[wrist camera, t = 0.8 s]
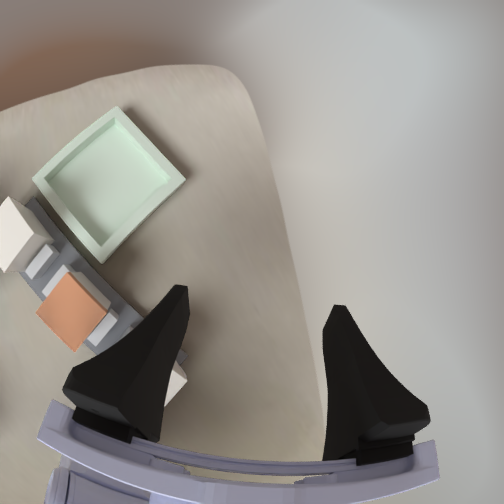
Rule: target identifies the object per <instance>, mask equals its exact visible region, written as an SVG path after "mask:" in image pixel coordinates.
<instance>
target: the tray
mask: <svg viewBox="0 0 504 504" xmlns="http://www.w3.org/2000/svg"><path fill="white" fill-rule="evenodd" d="M32 180H33V181H34V183H35V184H36V185H37V187H38V188H39V190H40V191H41V192H42V194H43V195H44V196H45V198H46V199H47V200H48V202H49V203H50V204H51V206H52V207H53V208H54V209H55V211H56V212H57V213H58V214H59V216H60V217H61V218H62V219H63V221H64V222H65V223H66V224H67V226H68V227H69V228H70V229H71V230H72V232H73V233H74V234H75V235H76V236H77V237H78V239H79V240H80V241H81V242H82V243H83V244H84V245H85V247H86V248H87V249H88V250H89V251H90V252H91V253H92V254H93V255H94V257H95V258H96V259H97V260H98V261H99V262H100V263H101V264H104V262H105V261H106V260H107V259H108V258H109V257H110V256H111V255H112V254H113V253H114V252H115V250H116V249H117V248H118V247H119V246H120V245H121V244H122V243H123V242H124V241H125V240H126V239H127V238H128V237H129V236H130V235H131V234H132V233H133V232H134V231H135V230H136V229H137V228H138V227H139V226H140V225H141V224H142V223H143V222H144V221H145V220H146V219H147V218H148V217H149V216H150V215H151V214H152V213H153V212H154V211H155V210H156V209H157V208H158V207H159V206H160V205H161V204H162V203H163V202H164V201H165V200H167V199H168V198H169V197H170V196H171V195H172V194H173V193H174V192H175V191H176V190H177V189H179V188H180V187H181V186H182V185H183V183H184V182H185V180H186V179H185V178H184V177H183V176H182V174H181V173H180V172H179V171H178V170H177V169H176V168H175V167H174V166H173V165H172V164H171V163H170V162H169V161H168V159H167V158H166V157H165V156H164V155H163V154H162V153H161V152H160V151H159V150H158V149H157V148H156V147H155V146H154V145H153V143H152V142H151V141H150V140H149V139H148V138H147V137H146V136H145V135H144V134H143V133H142V132H141V131H140V130H139V129H138V127H137V126H136V125H135V124H134V123H133V122H132V121H131V120H130V119H129V118H128V117H127V116H126V115H125V114H124V113H123V111H122V110H121V109H120V108H119V107H118V106H116V107H114V108H113V109H111V110H110V111H109V112H107V113H106V114H104V115H103V116H102V117H100V118H99V119H98V120H96V121H95V122H94V123H93V124H91V125H90V126H89V127H87V128H86V129H85V130H84V131H82V132H81V133H80V134H79V135H78V136H76V137H75V138H74V139H73V140H72V141H71V142H69V143H68V144H67V145H66V146H65V147H64V148H63V149H61V150H60V151H59V152H58V153H57V154H56V155H55V156H54V157H53V158H52V159H51V160H50V161H49V162H48V163H47V164H46V165H45V166H44V167H43V168H42V169H41V170H40V171H39V172H38V173H37V174H36V175H35V176H34V177H33V178H32Z"/></svg>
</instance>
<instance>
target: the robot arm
mask: <svg viewBox="0 0 504 504" xmlns="http://www.w3.org/2000/svg"><path fill="white" fill-rule="evenodd" d="M189 316H190V309H189V298H188V286H183V285H177V284H176V285H174V286H173V287H172V289H171V290H170V291H169V292H168V293H167V295H166V296H165V297H164V298H163V299H162V300H161V301H160V303H159V304H158V305H157V306H156V307H155V308H154V309H153V310H152V311H151V312H150V313H149V314H148V315H147V316H146V317H145V318H144V319H143V320H142V321H141V322H140V323H139V324H138V325H137V326H136V327H135V328H134V329H133V330H132V331H130V332H129V333H128V334H127V335H126V336H124V337H123V338H122V339H120V340H119V341H118V342H116V343H115V344H114V345H112V346H111V347H109V348H108V349H106V350H105V351H103V352H101V353H100V354H98V355H97V356H95V357H93V358H91V359H90V360H88V361H86V362H84V363H82V364H80V365H77V366H75V367H73V368H72V370H71V372H70V373H69V375H68V377H67V380H66V382H65V384H64V386H63V389H62V390H63V393H64V394H65V395H66V396H67V397H68V398H69V399H70V400H71V401H72V402H73V403H74V404H75V405H76V409H75V411H74V410H73V409H71V408H69V407H67V406H65V405H63V404H61V403H59V402H57V401H56V400H54V399H53V400H51V402H50V405H49V407H48V410H47V412H46V415H45V417H44V420H43V422H42V425H41V428H40V430H39V433H38V436H37V439H38V440H39V441H41V442H43V443H44V444H46V445H47V446H49V447H51V448H52V449H54V450H56V451H58V452H59V453H61V454H62V456H61V460H60V465H59V468H55V469H53V471H52V474H51V477H50V480H49V483H48V487H47V491H46V495H45V500H44V504H357V503H362V502H367V501H371V500H376V499H380V498H384V497H387V496H391V495H394V494H398V493H401V492H405V491H408V490H411V489H414V488H417V487H420V486H423V485H426V484H428V483H431V482H434V481H437V480H439V478H440V475H439V468H438V459H437V453H436V447H435V441H434V440H430V441H427V442H423V443H419V444H416V445H414V446H413V445H412V441H414V440H415V436H414V434H415V433H416V432H418V431H420V430H421V429H423V428H424V427H426V426H427V425H428V424H429V423H430V415H429V411H428V407H427V405H426V404H425V403H423V402H422V401H421V400H419V399H418V398H417V397H416V396H414V395H413V394H412V393H411V392H409V391H408V390H407V389H406V388H405V387H404V386H403V385H402V384H401V383H400V382H399V381H398V380H397V379H396V378H395V377H394V376H393V375H392V374H391V373H390V372H389V370H388V369H387V368H386V367H385V365H384V364H383V363H382V362H381V361H380V359H379V358H378V357H377V355H376V354H375V352H374V351H373V350H372V348H371V347H370V345H369V344H368V342H367V341H366V339H365V337H364V336H363V334H362V333H361V331H360V329H359V328H358V326H357V324H356V323H355V321H354V319H353V318H352V316H351V314H350V312H349V311H348V309H347V307H346V306H344V305H334V306H333V308H332V311H331V313H330V315H329V317H328V319H327V322H326V324H325V326H324V328H323V355H324V362H325V370H326V378H327V388H328V412H327V428H326V439H325V446H324V453H323V459H322V461H313V462H278V461H259V460H246V459H237V458H228V457H221V456H214V455H208V454H202V453H197V452H192V451H187V450H182V449H178V448H173V447H169V446H165V445H161V444H157V442H158V441H159V440H160V431H161V423H162V417H163V411H164V405H165V400H166V394H167V390H168V385H169V380H170V376H171V372H172V369H173V366H174V363H175V360H176V358H177V355H178V352H179V349H180V347H181V344H182V341H183V338H184V335H185V333H186V329H187V325H188V320H189ZM157 458H159V459H157ZM160 459H163V460H167V461H171V462H175V463H180V464H184V465H189V466H194V467H199V468H205V469H211V470H217V471H224V472H233V473H242V474H254V475H272V476H306V475H322V476H314V477H305V478H304V479H303V480H299V481H295V482H294V484H271V483H254V482H241V481H231V480H222V479H214V478H207V477H200V476H194V475H190V472H189V471H187V470H184V467H183V466H180V465H176V464H173V463H169V462H166V461H163V460H160ZM326 474H329V475H326Z"/></svg>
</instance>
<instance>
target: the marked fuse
mask: <svg viewBox="0 0 504 504" xmlns="http://www.w3.org/2000/svg"><path fill="white" fill-rule="evenodd" d="M110 304H111V302H110V301H109V300H108V299H107V298H106V297H105V296H104V295H103V294H102V293H101V292H100V291H99V290H98V289H97V288H96V287H95V286H94V285H93V283H92V282H91V281H90V280H89V279H88V278H87V277H86V276H85V275H84V274H83V273H82V272H73V273H71V272H67V273H66V274H65V275H64V276H63V277H62V279H61V280H60V281H59V282H58V284H57V285H56V286H55V287H54V289H53V290H52V291H51V293H50V294H49V295H48V296H47V298H46V299H45V300H44V302H43V303H42V304H41V306H40V307H39V309H38V310H37V311H36V314H37V315H38V316H39V317H40V318H41V319H42V320H43V321H44V323H45V324H46V325H47V326H48V327H49V328H50V329H51V330H52V331H53V332H54V333H55V334H56V335H57V336H58V337H59V338H60V339H61V340H62V341H63V342H64V343H65V344H66V345H67V346H68V347H69V348H70V349H71V350H73V351H74V352H76V350H77V349H78V348H79V346H80V345H81V344H82V343H83V341H84V340H85V339H86V338H87V336H88V335H89V334H90V333H91V332H92V330H93V329H94V328H95V327H96V325H97V324H98V323H99V322H100V321H101V319H102V318H103V317H104V316H105V315H106V314H107V312H108V308H109V306H110Z"/></svg>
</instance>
